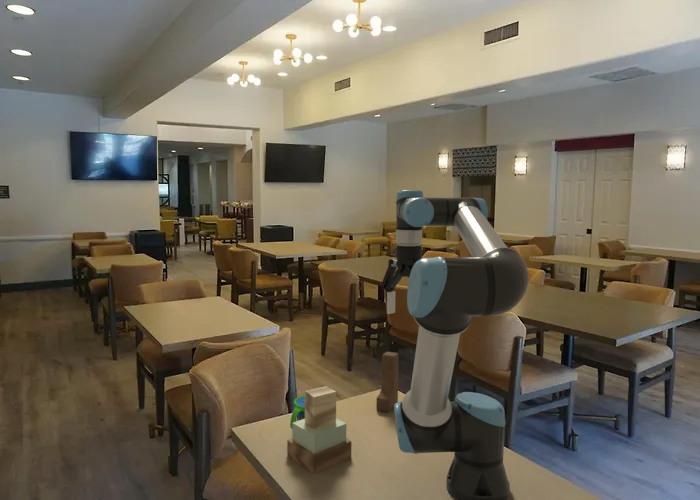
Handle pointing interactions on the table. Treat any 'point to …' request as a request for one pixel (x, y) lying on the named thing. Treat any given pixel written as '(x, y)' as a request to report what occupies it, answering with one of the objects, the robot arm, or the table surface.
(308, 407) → the oak block
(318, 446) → the sage slab
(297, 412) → the snack cup
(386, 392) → the wooden block
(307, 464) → the walnut slab
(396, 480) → the table surface
